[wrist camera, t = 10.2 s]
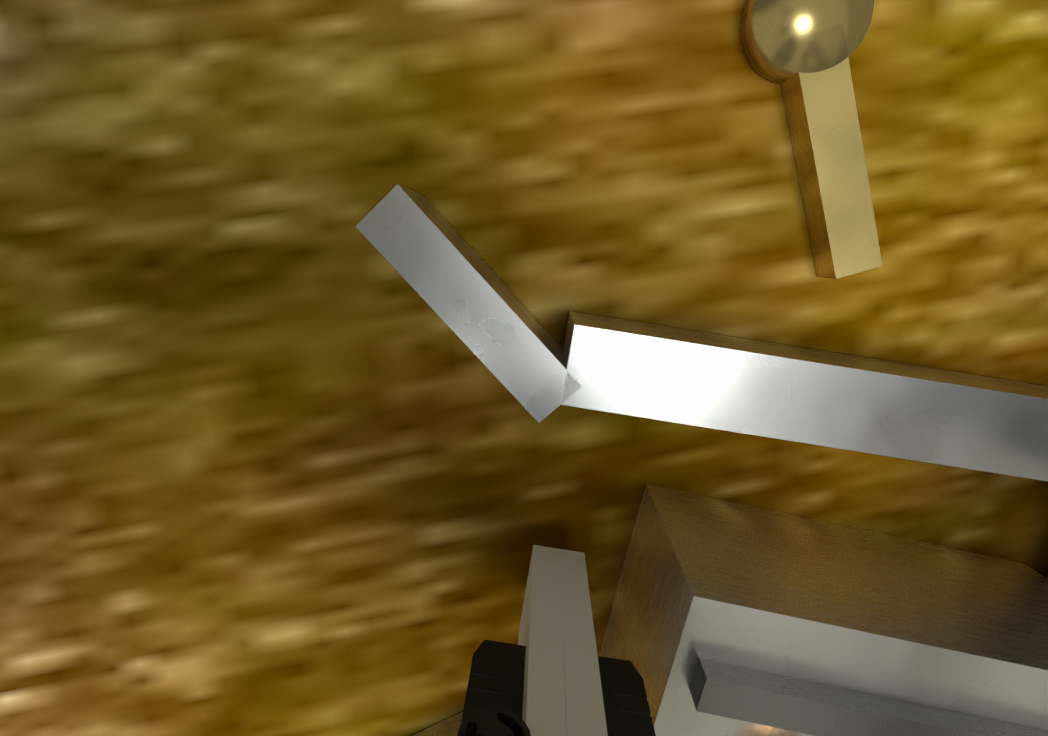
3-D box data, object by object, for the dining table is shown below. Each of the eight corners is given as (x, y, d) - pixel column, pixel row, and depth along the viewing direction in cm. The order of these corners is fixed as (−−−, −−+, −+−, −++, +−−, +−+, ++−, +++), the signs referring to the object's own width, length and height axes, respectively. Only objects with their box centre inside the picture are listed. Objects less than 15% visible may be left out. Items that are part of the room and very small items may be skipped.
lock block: (644, 480, 18) (701, 614, 11) (1017, 559, 18) (1287, 737, 11) (586, 694, 19) (606, 916, 13) (927, 765, 19) (1117, 1021, 13)
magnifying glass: (728, -11, 15) (744, -34, 13) (837, -48, 14) (863, -74, 13) (786, 284, 16) (805, 287, 15) (886, 256, 16) (913, 257, 15)
